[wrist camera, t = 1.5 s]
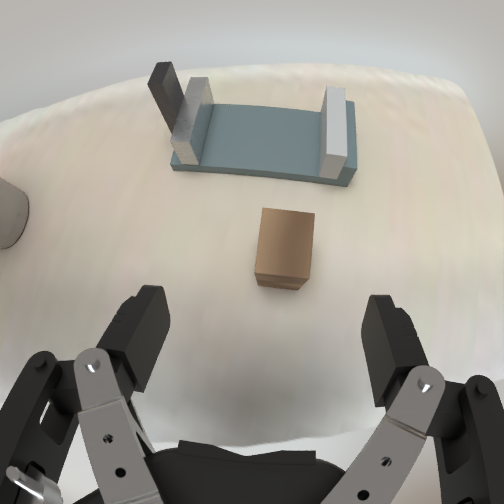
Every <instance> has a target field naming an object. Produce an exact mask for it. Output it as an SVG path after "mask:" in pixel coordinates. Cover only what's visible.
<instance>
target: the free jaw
mask: <svg viewBox="0 0 504 504" xmlns="http://www.w3.org/2000/svg"><path fill="white" fill-rule="evenodd" d="M147 85H148V87H149V89H150V91H151V93H152V95H153V97H154V99H155V101H156V103H157V105H158V107H159V109H160V111H161V113H162V115H163V117H164V119H165V121H166V123H167V125H168V127H169V129H170V131H171V133H172V137H171V140H170V142H171V144H172V146H173V148H174V150H175V152H176V154H177V156H178V158H179V159H180V161H181V163H182V164H191V165H199V163H200V159H201V154H202V150H203V146H204V142H205V137H206V133H207V129H208V125H209V121H210V117H211V113H212V109H213V105H214V101H213V96H212V92H211V88H210V84H209V80H208V77H191V78H190V81H189V84H188V86H187V89H186V92H185V95H183V92H182V89H181V86H180V84H179V81H178V78H177V75H176V73H175V70H174V68H173V64H172V62H159V63H157V64H156V66H155V68H154V71H153V73H152V75H151V77H150V79H149V82H148V84H147Z"/></svg>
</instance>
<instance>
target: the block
mask: <svg viewBox="0 0 504 504" xmlns="http://www.w3.org/2000/svg"><path fill="white" fill-rule="evenodd" d="M314 218H315V214H314V213H306V212H297V211H289V210H280V209H271V208H263V209H262V217H261V225H260V233H259V241H258V249H257V257H256V264H255V272H254V273H255V276H256V280H257V283H258V286H265V287H274V288H282V289H291V290H298V289H299V288H300V287H301V286H302V285H303V284H304V283H305V282H307V281H308V280H309V277H310V267H311V256H312V244H313V231H314Z"/></svg>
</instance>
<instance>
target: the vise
mask: <svg viewBox="0 0 504 504" xmlns="http://www.w3.org/2000/svg"><path fill="white" fill-rule="evenodd" d="M170 165H171V167H172V168H173V170H177V171H197V172H213V173H227V174H239V175H251V176H261V177H272V178H281V179H290V180H299V181H307V182H315V183H322V184H330V185H337V186H344V187H347V186H348V184H349V182H350V181H351V179H352V177H353V175H354V174H355V172H356V170H357V145H356V123H355V107H354V102H351V101H346V100H345V89H344V88H338V87H332V86H327V87H326V91H325V96H324V100H323V105H322V109H321V113H320V112H313V111H305V110H297V109H287V108H277V107H265V106H251V105H231V104H214V105H213V109H212V113H211V117H210V121H209V125H208V129H207V133H206V137H205V142H204V146H203V150H202V154H201V159H200V163H199V165H191V164H182V163H181V161H180V159H179V158H178V156H177V154H176V152H175V150H174V152H173V155H172V159H171V163H170Z"/></svg>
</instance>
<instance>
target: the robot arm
mask: <svg viewBox="0 0 504 504" xmlns="http://www.w3.org/2000/svg"><path fill="white" fill-rule="evenodd" d="M27 216H28V199H27V196H26V195H25V193H24V192H23V191H21V190H20V189H18V188H16V187H15V186H13V185H12V184H10V183H8V182H7V181H5V180H4V179H2V178H1V177H0V248H8V247H10V246H11V245H13V244H14V243H15V242H16V241H17V239H18V238H19V237H20V235H21V233H22V231H23V229H24V227H25V224H26V221H27ZM169 328H170V313H169V309H168V305H167V301H166V296H165V292H164V289H163V287H162V286H153V285H143V286H142V288H141V289H140V291H139V292H138V294H137V296H136V297H134V296H131V297H130V298H129V299H128V300H126V301H125V302H124V303H123V304H122V305H121V306H120V308H119V310H118V311H117V314H116V315H115V316H114V318H113V319H112V322H111V323H110V324H109V326H108V328H107V329H106V331H105V333H104V334H103V336H102V338H101V339H100V341H99V343H98V344H97V346H96V348H90V349H87V350H85V351H83V352H82V353H80V354H79V355H78V356H77V358H76V359H75V360H69V361H57V359H56V358H55V356H54V354H52V353H51V352H49V351H41V352H38V353H36V354H34V355H33V356H32V357H31V358H30V359H29V360H28V362H27V363H26V365H25V367H24V368H23V370H22V372H21V373H20V375H19V377H18V379H17V380H16V382H15V384H14V386H13V388H12V389H11V391H10V393H9V395H8V397H7V399H6V400H5V402H4V404H3V406H2V408H1V410H0V504H63V499H62V497H61V492H60V489H59V487H58V486H57V483H58V480H59V477H60V474H61V471H62V468H63V465H64V462H65V459H66V457H67V454H68V451H69V448H70V445H71V443H72V440H73V437H74V434H75V432H76V429H77V427H78V424H79V423H80V427H81V431H82V435H83V439H84V442H85V446H86V450H87V453H88V457H89V460H90V463H91V466H92V469H93V472H94V475H95V478H96V481H97V484H98V487H99V488H98V489H97V490H95V491H93V492H92V493H90V494H88V495H87V496H85V497H83V498H82V499H80V500H78V501H76V502H75V503H73V504H390V503H391V502H392V500H393V499H394V497H395V495H396V494H397V492H398V491H399V489H400V487H401V486H402V484H403V483H404V481H405V479H406V477H407V476H408V474H409V472H410V470H411V468H412V467H413V465H414V463H415V461H416V459H417V457H418V456H419V454H420V452H421V450H422V448H423V446H424V444H425V441H426V439H427V436H432V437H433V438H434V444H435V450H436V457H437V463H438V471H439V479H440V488H441V499H442V504H504V409H503V406H502V403H501V400H500V397H499V395H498V392H497V389H496V387H495V385H494V383H493V382H492V381H491V380H490V379H489V378H487V377H485V376H482V375H475V376H472V377H470V378H469V379H468V381H467V382H466V383H465V384H462V383H456V382H450V381H446V380H444V377H443V376H442V374H441V373H440V372H439V371H438V370H436V369H435V368H433V367H430V366H429V364H428V361H427V358H426V356H425V353H424V350H423V348H422V345H421V343H420V340H419V337H417V332H416V330H415V328H414V325H413V323H412V320H411V318H410V316H409V315H408V314H407V313H406V312H405V311H404V310H403V309H402V308H395V305H394V303H393V300H392V298H391V296H390V295H371V296H370V297H369V300H368V304H367V308H366V312H365V316H364V319H363V323H362V328H361V338H362V343H363V348H364V352H365V357H366V362H367V366H368V371H369V376H370V381H371V386H372V392H373V397H374V403H375V407H384V406H385V409H386V414H385V416H384V417H383V419H382V420H381V422H380V424H379V425H378V427H377V428H376V430H375V431H374V433H373V434H372V436H371V437H370V439H369V440H368V442H367V443H366V445H365V446H364V448H363V449H362V450H361V452H360V453H359V455H358V456H357V457H356V459H355V460H354V461H353V463H352V464H351V465H350V467H349V468H348V469H347V471H346V472H345V471H344V470H343V469H341V468H339V467H338V466H336V465H334V464H332V463H329V462H327V461H324V460H321V459H316V451H284V450H281V451H276V452H270V453H265V454H258V455H252V456H243V455H239V454H236V453H233V452H230V451H228V450H225V449H222V448H219V447H216V446H214V445H209V444H202V443H195V442H189V441H183V440H180V441H179V444H178V448H170V449H165V450H161V451H158V452H155V450H154V448H153V447H152V444H151V443H150V441H149V439H148V437H147V435H146V433H145V430H144V428H143V426H142V423H141V421H140V419H139V416H138V414H137V411H136V409H135V406H134V404H133V401H132V399H131V396H132V393H133V391H137V392H142V393H144V390H145V388H146V385H147V383H148V380H149V378H150V375H151V373H152V370H153V368H154V365H155V363H156V360H157V358H158V355H159V353H160V350H161V348H162V345H163V343H164V341H165V338H166V336H167V333H168V331H169ZM48 401H49V403H50V405H49V407H48V409H47V411H46V413H45V415H44V418H43V420H42V422H41V424H40V417H41V415H42V413H43V411H44V409H45V406H46V404H47V402H48Z"/></svg>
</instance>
